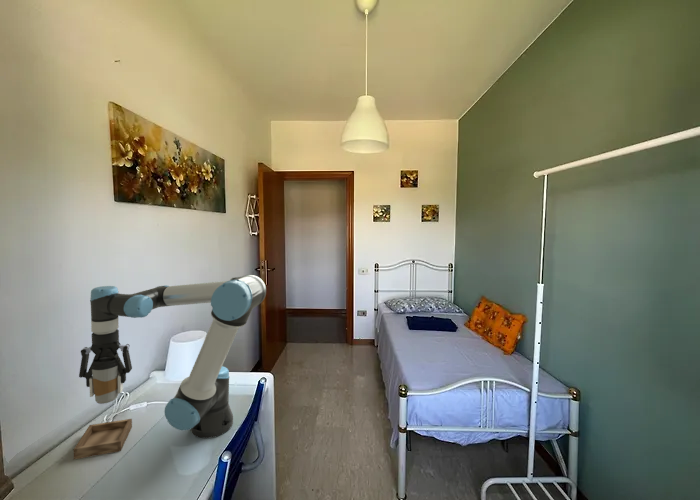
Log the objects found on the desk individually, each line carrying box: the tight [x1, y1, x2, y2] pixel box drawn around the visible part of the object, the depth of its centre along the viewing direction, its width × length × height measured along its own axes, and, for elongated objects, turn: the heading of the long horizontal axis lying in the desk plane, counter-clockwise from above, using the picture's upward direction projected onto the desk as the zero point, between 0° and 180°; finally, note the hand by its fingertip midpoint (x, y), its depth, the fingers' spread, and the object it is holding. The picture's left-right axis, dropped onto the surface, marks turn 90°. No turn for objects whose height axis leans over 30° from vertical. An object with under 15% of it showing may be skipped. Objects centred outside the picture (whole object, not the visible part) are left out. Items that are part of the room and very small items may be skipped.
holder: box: [72, 418, 133, 460], centre depth 112 cm, size 13×13×4 cm
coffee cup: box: [90, 355, 120, 405], centre depth 112 cm, size 8×8×15 cm
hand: (106, 393), depth 112 cm, fingers closed on coffee cup, 7 cm apart
